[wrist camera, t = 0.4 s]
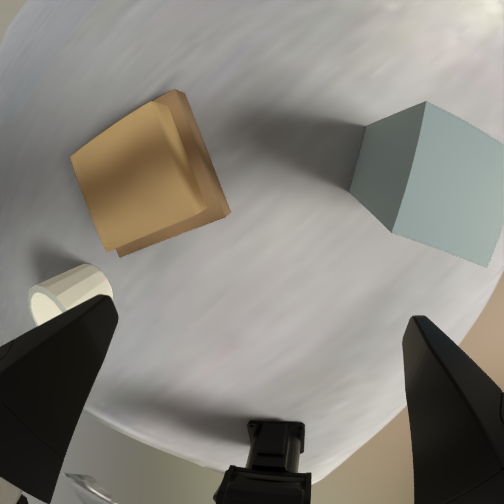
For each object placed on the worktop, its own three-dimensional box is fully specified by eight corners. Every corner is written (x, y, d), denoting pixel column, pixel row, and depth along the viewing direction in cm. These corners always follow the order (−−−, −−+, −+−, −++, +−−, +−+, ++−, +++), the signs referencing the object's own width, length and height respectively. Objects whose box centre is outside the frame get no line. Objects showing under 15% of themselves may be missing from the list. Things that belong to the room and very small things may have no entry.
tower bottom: (233, 210, 22) (224, 217, 20) (134, 248, 25) (119, 257, 23) (187, 94, 20) (174, 89, 17) (96, 149, 23) (78, 150, 20)
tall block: (409, 212, 19) (487, 268, 9) (348, 192, 20) (391, 232, 9) (427, 150, 17) (519, 156, 7) (366, 126, 18) (426, 101, 8)
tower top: (207, 207, 20) (194, 215, 18) (124, 242, 22) (106, 252, 20) (167, 105, 18) (150, 101, 16) (90, 154, 20) (70, 156, 18)
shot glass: (71, 302, 28) (32, 333, 22) (69, 249, 26) (22, 274, 19) (117, 326, 28) (80, 364, 21) (118, 270, 25) (72, 304, 19)
